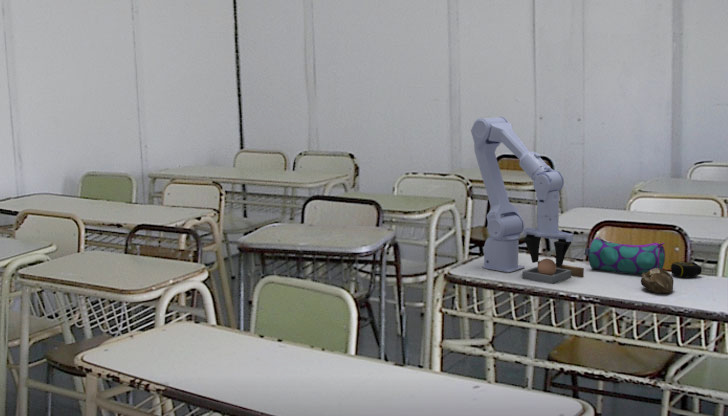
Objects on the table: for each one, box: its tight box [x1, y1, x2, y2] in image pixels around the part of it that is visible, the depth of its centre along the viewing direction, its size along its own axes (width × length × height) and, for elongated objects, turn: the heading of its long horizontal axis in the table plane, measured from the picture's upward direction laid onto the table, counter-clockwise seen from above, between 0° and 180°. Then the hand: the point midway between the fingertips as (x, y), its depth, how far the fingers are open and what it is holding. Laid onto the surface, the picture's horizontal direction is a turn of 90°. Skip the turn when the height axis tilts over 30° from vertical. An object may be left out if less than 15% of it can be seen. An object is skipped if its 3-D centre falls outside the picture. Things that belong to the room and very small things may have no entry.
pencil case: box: [584, 236, 666, 275], centre depth 235 cm, size 21×9×10 cm, turn 57°
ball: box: [537, 258, 556, 276], centre depth 230 cm, size 5×5×5 cm
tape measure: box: [670, 261, 702, 279], centre depth 230 cm, size 7×7×4 cm
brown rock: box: [640, 268, 674, 294], centre depth 215 cm, size 8×7×10 cm
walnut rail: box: [537, 260, 585, 278], centre depth 235 cm, size 14×1×2 cm, turn 46°
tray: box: [521, 266, 572, 285], centre depth 231 cm, size 10×10×2 cm
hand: (547, 264), depth 230 cm, fingers open, 7 cm apart
